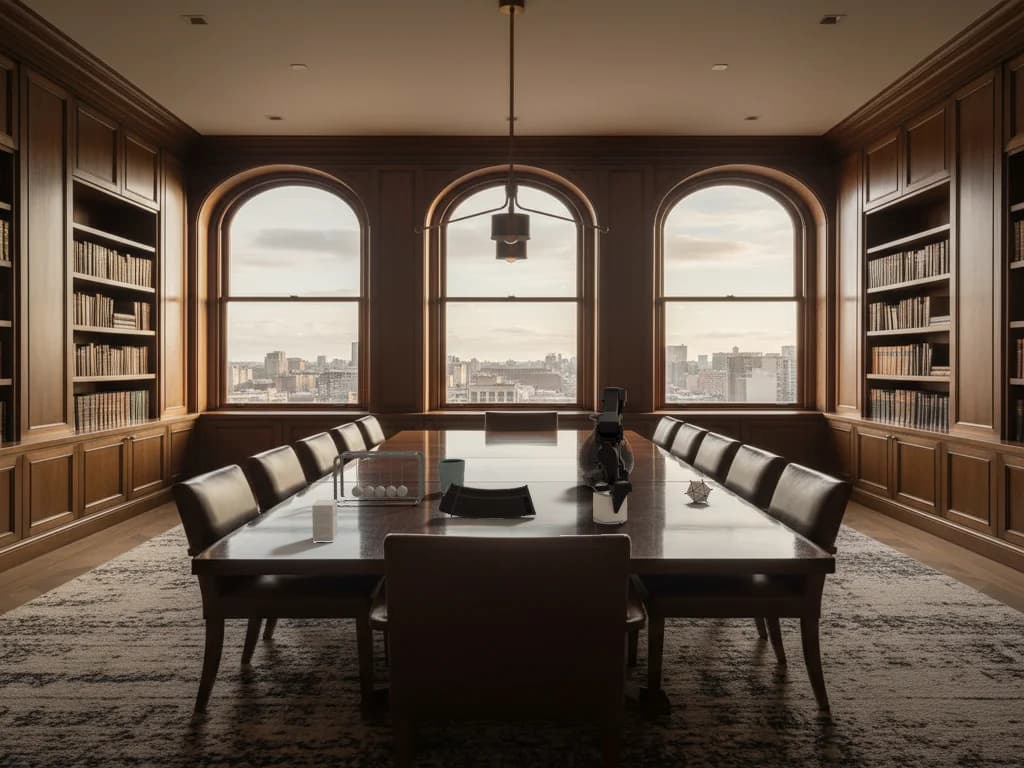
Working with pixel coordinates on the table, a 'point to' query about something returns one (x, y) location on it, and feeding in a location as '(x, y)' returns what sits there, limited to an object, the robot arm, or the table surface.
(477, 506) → the curved black tray
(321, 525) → the small box
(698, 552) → the table surface
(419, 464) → the newton's cradle
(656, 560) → the table surface
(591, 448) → the amphora vase
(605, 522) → the disc
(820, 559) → the table surface
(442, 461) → the green cup
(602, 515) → the block
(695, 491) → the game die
